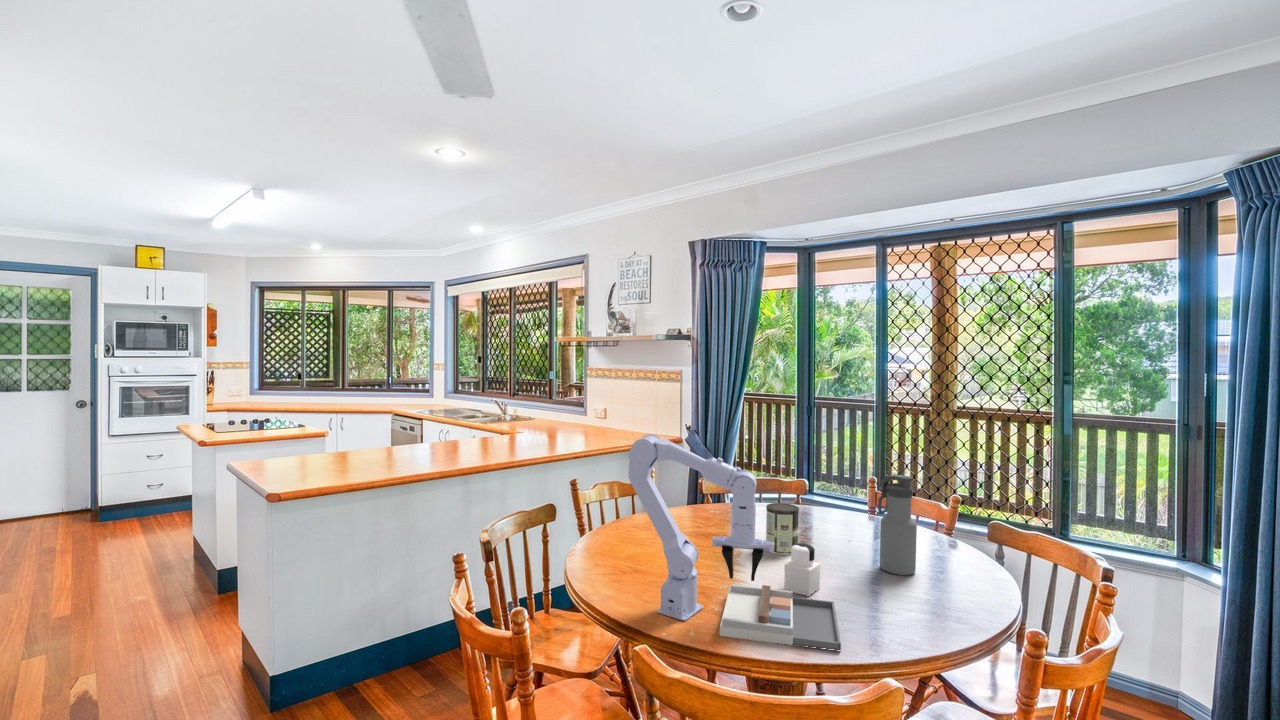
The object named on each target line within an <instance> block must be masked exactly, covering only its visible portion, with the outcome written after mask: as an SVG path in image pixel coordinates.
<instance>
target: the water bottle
mask: <svg viewBox="0 0 1280 720" xmlns="http://www.w3.org/2000/svg"><path fill="white" fill-rule="evenodd" d="M890 481H898V482H893V483H889V482H890ZM912 482H913V477H912V476H909V475H903V474H895V473H894V474H890V475H887V476H885V477H883V478H882V479H881V481H880V482H879V488H878V489H879V490H880V491H881V494H880V497H879V498H878V508H877V509H878V510H877V511H878V514H880V515H882V514H885V513H886V515H883V516H882V518H881V519H880V542H879V567H880V569H881V570H883V571H884V570H885V572H886V571H887V572H886V573H888V572H890V573H889V574H891V573H893V574H892V575H895V574H900V575H899V576H903V575H904V576H910V574H911V575H913V574H915V572H916V567H917V566H916V565H917V562H916V561H917V535H918V534H917V528H918V525H917V524H918V523H917V522H916V521H915V520H914V519H913V518H912V499H913V491H914V490H913V489H914V488H913V487H912ZM883 499H885V500H886V501H885V508H884V509H883V510H882V501H883Z"/></svg>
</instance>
